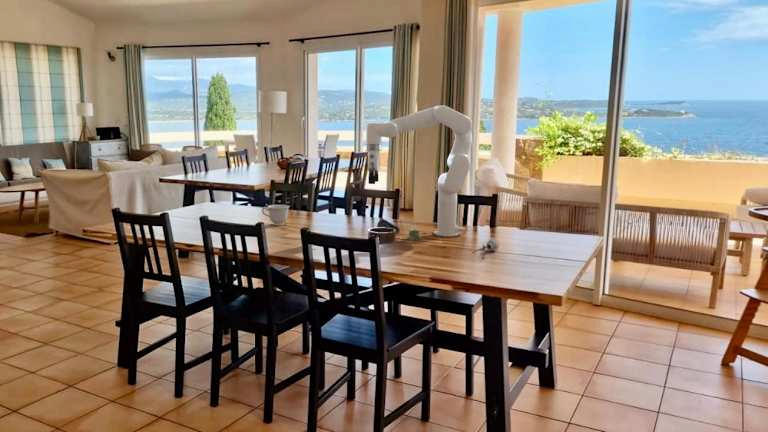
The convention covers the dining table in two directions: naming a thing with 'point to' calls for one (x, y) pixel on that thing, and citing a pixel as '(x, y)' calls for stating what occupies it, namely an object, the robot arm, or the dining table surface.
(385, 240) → the bowl
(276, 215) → the teacup
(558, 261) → the dining table surface
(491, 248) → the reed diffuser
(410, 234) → the green cube
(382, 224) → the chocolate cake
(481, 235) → the dining table surface
